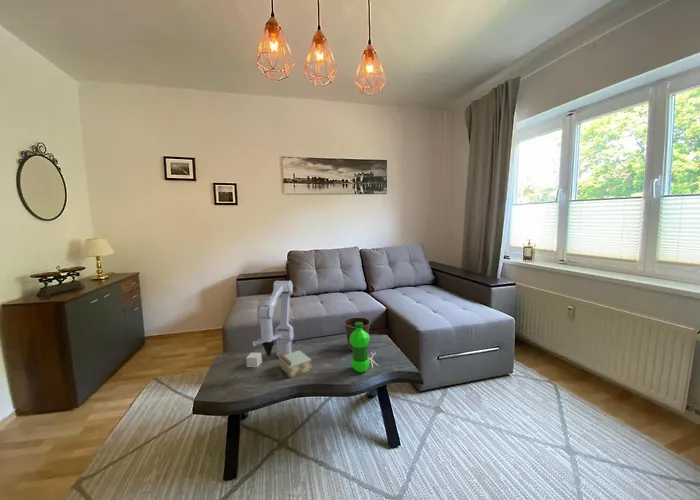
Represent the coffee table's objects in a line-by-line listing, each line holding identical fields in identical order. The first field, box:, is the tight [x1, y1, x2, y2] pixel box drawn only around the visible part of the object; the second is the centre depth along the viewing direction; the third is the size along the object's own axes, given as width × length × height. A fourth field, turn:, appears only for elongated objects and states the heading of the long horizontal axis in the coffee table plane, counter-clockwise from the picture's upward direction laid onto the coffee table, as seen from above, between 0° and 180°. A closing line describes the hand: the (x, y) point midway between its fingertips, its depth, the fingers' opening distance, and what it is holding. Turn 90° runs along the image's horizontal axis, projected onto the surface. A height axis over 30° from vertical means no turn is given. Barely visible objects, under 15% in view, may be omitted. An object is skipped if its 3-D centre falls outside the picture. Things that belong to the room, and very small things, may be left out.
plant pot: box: [343, 316, 371, 351], centre depth 175 cm, size 16×16×16 cm
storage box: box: [278, 358, 313, 379], centre depth 153 cm, size 12×14×5 cm
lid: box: [278, 350, 312, 368], centre depth 153 cm, size 12×14×3 cm
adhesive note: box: [245, 352, 263, 368], centre depth 158 cm, size 6×6×6 cm
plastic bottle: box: [349, 322, 371, 373], centre depth 149 cm, size 10×10×25 cm
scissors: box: [368, 351, 379, 369], centre depth 160 cm, size 11×1×20 cm
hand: (268, 355), depth 148 cm, fingers closed
